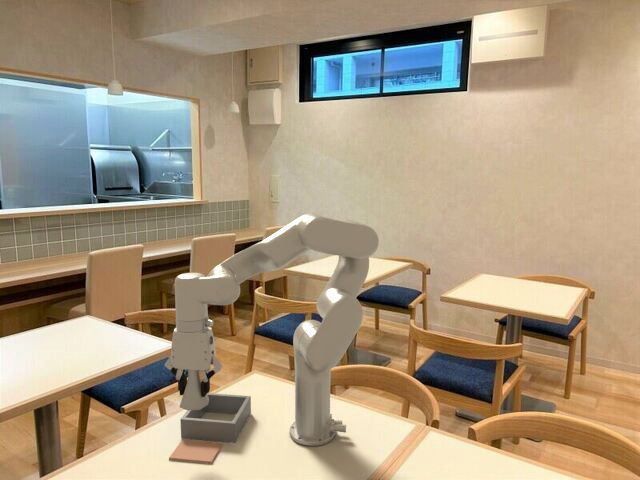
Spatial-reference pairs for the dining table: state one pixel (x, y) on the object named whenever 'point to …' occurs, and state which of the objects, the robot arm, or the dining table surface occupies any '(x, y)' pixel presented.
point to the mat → (196, 451)
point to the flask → (193, 393)
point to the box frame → (217, 428)
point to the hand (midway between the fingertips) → (194, 393)
